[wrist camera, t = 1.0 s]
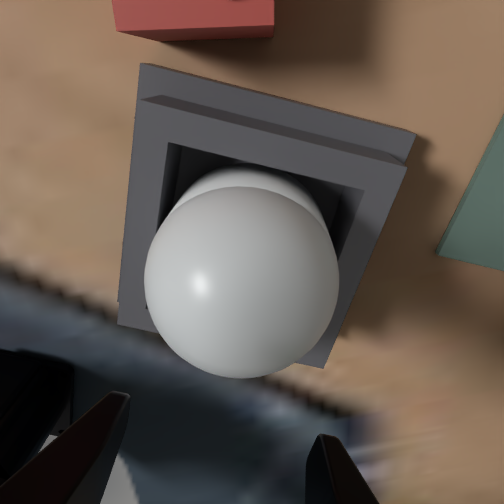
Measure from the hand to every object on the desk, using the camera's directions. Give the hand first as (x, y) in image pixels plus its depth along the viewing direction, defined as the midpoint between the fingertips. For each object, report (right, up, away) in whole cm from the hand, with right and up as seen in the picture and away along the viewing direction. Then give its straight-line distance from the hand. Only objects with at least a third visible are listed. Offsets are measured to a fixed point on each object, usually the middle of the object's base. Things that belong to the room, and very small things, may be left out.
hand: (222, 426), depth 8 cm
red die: (-1, +15, +7) cm, 17 cm away
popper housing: (+1, +6, +12) cm, 13 cm away
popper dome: (0, +4, +9) cm, 10 cm away
